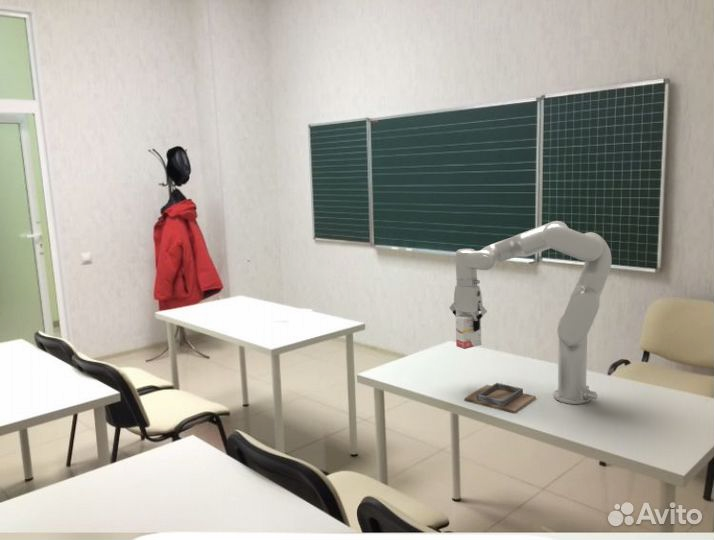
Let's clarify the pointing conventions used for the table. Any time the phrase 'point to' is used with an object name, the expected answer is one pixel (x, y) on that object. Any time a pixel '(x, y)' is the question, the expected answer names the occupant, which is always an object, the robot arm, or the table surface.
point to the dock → (501, 397)
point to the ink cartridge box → (466, 331)
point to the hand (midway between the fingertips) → (468, 328)
